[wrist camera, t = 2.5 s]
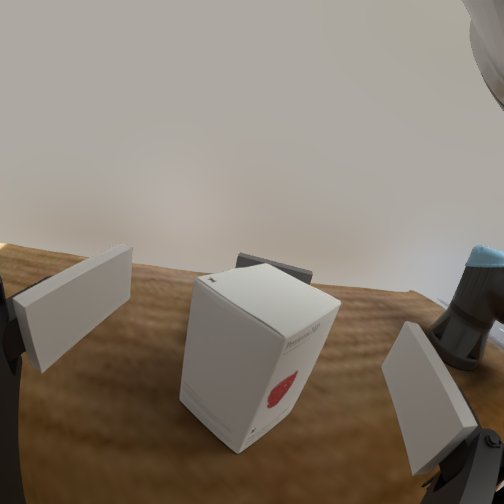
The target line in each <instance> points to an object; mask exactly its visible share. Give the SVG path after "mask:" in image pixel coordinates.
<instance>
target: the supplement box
mask: <svg viewBox="0 0 504 504" xmlns="http://www.w3.org/2000/svg"><path fill="white" fill-rule="evenodd" d="M340 305H341V301H340V300H337V299H336V298H334V297H332V296H330V295H328V294H326V293H324V292H322V291H320V290H318V289H316V288H314V287H312V286H310V285H308V284H306V283H304V282H302V281H300V280H298V279H296V278H294V277H293V276H291V275H289V274H287V273H285V272H283V271H281V270H279V269H277V268H276V267H274V266H271V265H269V264H267V263H264V264H259V265H255V266H250V267H244V268H235V269H231V270H228V271H225V272H220V273H215V274H210V275H204V276H199V277H196V278H195V281H194V288H193V294H192V301H191V307H190V315H189V322H188V329H187V337H186V344H185V353H184V361H183V369H182V378H181V389H180V398H179V399H180V401H181V402H182V403H183V404H184V405H185V406H186V407H187V408H188V409H189V410H190V411H191V412H192V413H193V414H194V415H195V416H196V417H197V418H198V419H199V420H200V421H201V422H202V423H203V424H204V425H205V426H206V427H207V428H208V429H209V430H210V431H211V432H212V433H213V434H215V435H216V436H217V437H218V438H219V439H220V440H221V441H222V442H223V443H225V444H226V445H227V446H228V447H229V448H230V449H232V450H233V451H234V452H235V453H237V454H239V453H240V452H242V451H243V450H245V449H246V448H247V447H249V446H250V445H251V444H253V443H254V442H255V441H257V440H258V439H259V438H261V437H262V436H263V435H264V434H266V433H267V432H268V431H269V430H271V429H272V428H273V427H274V426H275V425H277V424H278V423H279V422H280V421H281V420H282V419H284V418H285V417H286V416H287V415H288V414H289V413H290V412H291V410H292V408H293V406H294V405H295V403H296V401H297V399H298V397H299V395H300V393H301V391H302V389H303V387H304V385H305V383H306V381H307V379H308V377H309V375H310V373H311V371H312V369H313V367H314V365H315V362H316V360H317V358H318V356H319V354H320V352H321V349H322V347H323V345H324V343H325V340H326V338H327V336H328V333H329V331H330V329H331V326H332V324H333V322H334V319H335V317H336V314H337V312H338V310H339V307H340Z"/></svg>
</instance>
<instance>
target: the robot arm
mask: <svg viewBox="0 0 504 504" xmlns="http://www.w3.org/2000/svg"><path fill="white" fill-rule="evenodd" d="M462 1H463V3H464V5H465V7H466V9H467V11H468V13H469V14H470V17H471V22H470V41H471V48H472V51H473V55H474V57H475V61H476V63H477V65H478V67H479V70H480V72H481V74H482V77H483V78H484V81H485V83H486V85H487V87H488V88H489V90H490V92H491V93H492V95H493V96H494V98H495V100H496V101H497V102H498V104H499V105H500V107H501V108H502V109H503V111H504V0H462ZM132 251H133V248H132V247H130V246H127V245H124V244H118V245H115V246H113V247H111V248H109V249H107V250H105V251H103V252H100V253H98V254H96V255H95V256H92V257H90V258H88V259H86V260H84V261H82V262H80V263H78V264H76V265H74V266H72V267H70V268H68V269H66V270H64V271H62V272H60V273H58V274H56V275H53V276H49V277H46V278H44V279H42V280H40V281H39V282H38V283H35V284H33V285H31V287H27V288H25V289H24V290H22V291H20V292H18V293H16V294H15V295H13V296H11V297H9V298H8V299H6V298H5V293H4V288H3V282H2V278H1V276H0V504H26V502H25V497H24V491H23V485H22V478H21V470H20V460H19V444H18V404H19V388H20V377H21V369H22V357H21V354H22V353H23V352H25V351H26V354H27V357H28V360H29V363H30V364H31V365H33V366H34V367H35V368H37V369H38V370H39V371H41V372H42V373H43V372H44V371H45V370H46V369H48V368H49V367H50V366H51V365H52V364H53V363H54V362H55V361H56V360H58V359H59V358H60V357H61V356H62V355H63V354H64V353H66V352H67V351H68V350H69V349H70V348H71V347H72V346H74V345H75V344H76V343H77V342H78V341H79V340H81V339H82V338H83V337H84V336H85V335H86V334H88V333H89V332H90V331H91V330H92V329H93V328H95V327H96V326H97V325H98V324H99V323H101V322H102V321H103V320H104V319H105V318H107V317H108V316H109V315H110V314H111V313H113V312H114V311H115V310H116V309H117V308H119V307H120V306H121V305H122V304H124V303H125V302H126V301H127V300H128V299H130V286H131V266H132ZM465 266H466V268H465V270H464V273H463V275H462V278H461V280H460V283H459V285H458V287H457V290H456V292H455V294H454V296H453V299H452V301H451V303H450V305H449V307H448V309H447V310H446V311H445V312H444V313H443V314H442V315H441V316H440V318H439V319H438V320H437V321H436V322H435V323H434V324H433V325H432V326H431V328H430V329H429V331H428V333H427V335H425V334H424V332H423V331H422V329H421V328H420V326H419V325H418V324H417V323H412V322H408V321H405V323H404V325H403V327H402V329H401V331H400V333H399V335H398V337H397V339H396V341H395V342H394V344H393V346H392V348H391V350H390V352H389V353H388V355H387V357H386V359H385V360H384V362H383V364H382V366H381V368H382V371H383V374H384V377H385V380H386V383H387V386H388V389H389V392H390V395H391V398H392V401H393V404H394V408H395V411H396V414H397V418H398V421H399V425H400V428H401V432H402V435H403V439H404V443H405V447H406V450H407V454H408V458H409V463H410V467H411V471H412V475H420V474H427V473H429V472H430V471H431V470H433V469H434V468H435V467H436V466H437V465H438V464H439V466H440V471H439V472H438V473H436V474H435V475H434V476H433V477H431V478H430V479H429V480H428V481H426V482H425V483H424V484H423V485H422V486H421V487H423V488H424V487H425V486H426V485H428V484H429V483H431V484H430V486H429V487H428V488H427V489H426V490H427V492H426V494H425V496H424V498H423V500H422V501H421V503H420V504H504V486H503V487H502V488H501V489H500V490H498V491H497V492H496V490H495V488H496V486H498V485H499V484H500V483H501V482H502V481H504V443H502V440H501V438H500V437H499V435H498V434H497V433H496V432H495V431H493V430H491V429H484V430H483V429H482V427H481V425H480V423H479V421H478V419H477V418H476V416H475V414H474V412H473V410H472V408H471V406H469V405H470V404H469V402H468V401H467V399H466V397H465V395H464V393H463V392H462V390H461V388H460V387H459V386H458V385H457V384H456V383H455V382H454V380H453V378H452V377H451V375H450V373H449V372H448V370H447V368H446V367H445V365H444V363H443V362H442V360H443V361H445V362H446V363H448V364H450V365H452V366H454V367H456V368H459V369H462V370H473V369H475V368H476V367H477V366H478V364H479V363H480V361H481V360H482V357H483V354H484V351H485V347H486V343H487V339H488V335H489V332H490V330H491V328H492V326H493V324H494V322H495V320H497V321H499V322H500V323H502V324H504V252H501V251H499V250H495V249H492V248H488V247H486V246H482V245H478V246H475V247H474V248H473V249H472V252H471V254H470V257H469V259H468V261H467V263H466V264H465ZM441 359H442V360H441Z"/></svg>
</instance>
